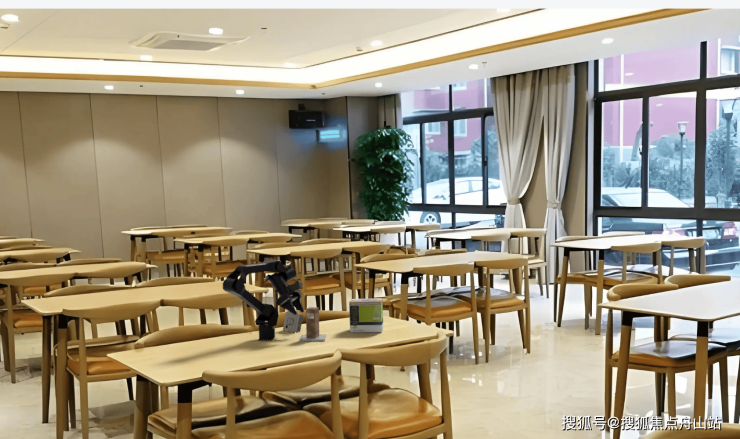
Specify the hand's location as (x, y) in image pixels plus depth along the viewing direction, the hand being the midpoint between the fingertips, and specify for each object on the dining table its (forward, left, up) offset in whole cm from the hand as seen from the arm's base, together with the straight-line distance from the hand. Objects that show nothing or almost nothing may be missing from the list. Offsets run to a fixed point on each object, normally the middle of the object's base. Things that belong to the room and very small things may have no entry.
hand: (299, 313), depth 323 cm
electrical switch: (-5, +16, -11) cm, 21 cm away
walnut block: (+6, -3, -10) cm, 12 cm away
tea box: (+30, +13, -11) cm, 35 cm away
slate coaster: (+6, -3, -11) cm, 13 cm away
